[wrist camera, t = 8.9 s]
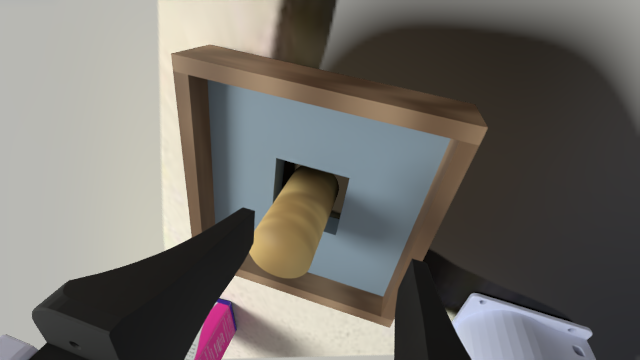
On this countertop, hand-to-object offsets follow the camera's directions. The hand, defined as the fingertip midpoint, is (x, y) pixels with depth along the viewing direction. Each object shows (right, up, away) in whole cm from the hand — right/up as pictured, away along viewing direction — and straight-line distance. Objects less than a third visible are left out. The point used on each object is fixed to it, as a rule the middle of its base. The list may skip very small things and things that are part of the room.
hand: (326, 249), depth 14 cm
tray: (-1, +3, +11) cm, 12 cm away
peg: (-1, +3, +11) cm, 12 cm away
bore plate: (-1, +3, +11) cm, 12 cm away
